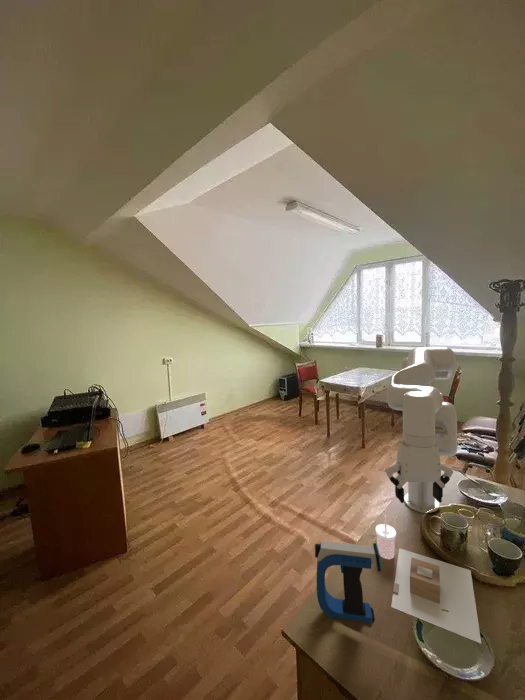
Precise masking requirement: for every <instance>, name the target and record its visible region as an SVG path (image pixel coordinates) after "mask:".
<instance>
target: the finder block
mask: <svg viewBox="0 0 525 700" xmlns="http://www.w3.org/2000/svg"><path fill="white" fill-rule="evenodd" d="M410 593H412V594H415V595H417V596H420V597H423V598H425V599H428V600H431V601H433V602H436V603H439V604H440V571H439V566H437V565H434V564H431V563H428V562H424V561H421V560H418V559H415V558H412V557H411V568H410Z"/></svg>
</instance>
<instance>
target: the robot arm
mask: <svg viewBox="0 0 525 700" xmlns="http://www.w3.org/2000/svg"><path fill="white" fill-rule="evenodd" d="M456 365H457V358H456V354H455V352H454V350H452V349H451V348H449V347H448V346H420V347H414V348H413V349H411V350H410V351H409V352H408V354H407V357H405V358H403V359H402V361H401V369H400V370H399V371H397V372H395V373H393V374H392V376H391V377H390V378H389V380H388V384H387V390H386V403H387V404H388V406H389V408H390V409H393V410H395V411H402V440H399V443H398V447H397V454H396V463H395V464H394V465H391V466H390V467H388V468H385V469H384V472H385V474H386V476H387V478H388V479H389V481H390V482H391V483H392V484H393V485H394V488H395V489H394V491H395V492H394V493H395V497H396V499H398V500H399V503H401V504H405V505H406V506H407V507H409V509H411V510H413V511H415V512H419V513H422V514H426V513H425V512H427V511H429V510H431V509H434V508H436V507H439V506H440V503H442V502H443V501H442V498H443V496H444V494H443V493H444V488H446V485H447V483H448V482H450V480H451V479H450V478H452V475H453V474H454V470H453V469H452V468H450V467H448V466H446V465H444V464H443V463H442V462H441V456H443V457H450V458H451V457H454V456H456V455H457V452H458V417H457V410H456V407H455V405H454V404H452V403H451V402H448V401H444V396H443V394H442V392H441V391H440V389H438V388H437V387H435V386H433V385H432V383H433V382H434V381H435V380H449V379H451V378H452V377H453V376H454V374H455V369H456ZM436 427H441V428H442V429H443V430H442V429H436ZM441 463H442V464H441ZM442 472H443V474H442ZM395 473H397V475H396V477H394V474H395ZM406 483H407V485H408V486H407V493H406V494H405V489H404V488H403V487H404V485H406Z"/></svg>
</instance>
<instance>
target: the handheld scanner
mask: <svg viewBox="0 0 525 700" xmlns="http://www.w3.org/2000/svg"><path fill="white" fill-rule="evenodd" d="M372 543H373V542H372ZM314 557H315V558H316V561H317V562H316V597H317V602H318V605H319V607H320V609H321V611H322V612H323V613H324V614H325V615H326V616H327V617H329V618H330V619H332V620H334V618H336V619H342V620H349V621H356V622H362V623H369V624H372V623H373V622H374V621H375V620H376V619H375V618H376V617H375V612H374V609H373V607H372V606H371V604H370V602H364V599H363V597H364V594H363V586H362V582H361V575H362V572H363V569H369V570H371V569H372V565H374V566H375V567H376V568H377V569H376V570H377V572H380V573H381V572H382V570H383V568H382V567H383V566H382V561H381V556H380V553H379V549H378V545H377V543H376V542H374V543H373V546H371V545H370V546H369V545H361V544H354V543H353V544H352V543H345V542H343V543H342V542H333V541H325V540H321V541H320V543H314ZM333 566H339V567H340V571H341V572H340V573H341V574H342V581H343V593H344V599H342V598H336V597H334V596H333V595H331V594H330V593H329V592H328V590H327V587H326V580H325V579H326V571H327V569H329V568H330V567H333Z"/></svg>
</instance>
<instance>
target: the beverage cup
mask: <svg viewBox="0 0 525 700" xmlns="http://www.w3.org/2000/svg"><path fill="white" fill-rule="evenodd" d="M374 530H375V533H376V542H377V543H376V544H377V545H378V549H379V553H380V558H383V559H386V560H392V559H394V557H395V546H396V545H395V544H396V543H395V542H396V538H397V531H396V529H395V528H394V527H393V526H391V525H390V524H387V515H385V514H384V523H379V524H377V525H376V526H375V529H374Z"/></svg>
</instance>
